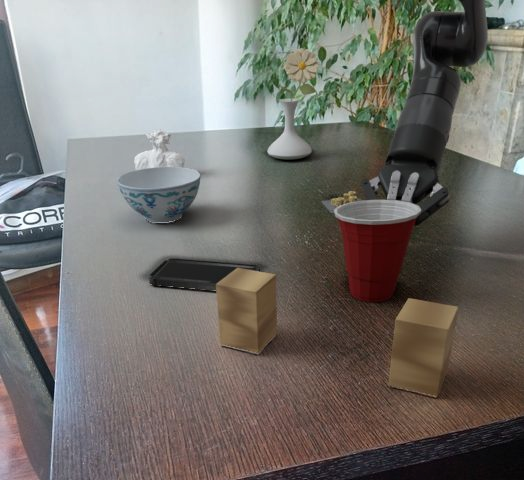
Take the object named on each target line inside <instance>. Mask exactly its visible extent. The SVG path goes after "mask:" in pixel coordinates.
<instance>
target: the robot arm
mask: <svg viewBox="0 0 524 480" xmlns="http://www.w3.org/2000/svg"><path fill="white" fill-rule="evenodd" d="M457 1H459V3H460V5H461V6H462V8H463V11H441V10H439V11H437V10H435V11H434V10H433V11H430V12H427V13H426V14H424V15H423V16H422V17H420V19H419V20H418V22H417V23H416V25H415V27H414V30H413V34H412V36H413V37H412V54H413V69H412V75H411V76H412V77H411V82H410V84H409V88H408V92H407V95H406V98H405V102H404V105H403V108H402V109H401V112H400V114H399V116H398V119H397V122H396V126H395V128H394V132H393V136H392V138H391V142H390V145H389V149H388V152H387V155H386V158H385V161H384V164H383V166H382V168H380V170H379V171H378V173H377V176H375V177H373V178H371V179H368V178H362V180H361V181H360V185H361V189H362V192H363V194H364V196H365V198H366V200H379V199H378V196H377V195H378V194H379V193H380V190H379V189H380V188H379V187H380V186H381V189H382V190H383V193H384V195H385V197H386V200H398V201H404V202H410V203H413V204H415V205H418V206H419V207H420V209H421V213H420V214H419V215H418V217H417V219H416V221H415V225H414V227H415V226H416V227H417V226H419V225H421V224H422V223H423V222H425V221H426V220H427V219H429V218H430V217H432V216H433V215H434V214H435V213H437V212H438V211H439V210H440V209H441V208H443V207H444V206H446V205H447V204H448V203H449V202H450V190H449V188H448V187H445V186H442V184H440V180H439V171H440V167H441V163H442V161H443V158H444V157H443V156H444V153H445V150H446V147H447V144H448V142H449V138H450V132H451V130H452V129H451V128H452V124H453V123H452V122H453V115H454V113H455V107H456V105H457V102H458V98H459V95H460V90H461V86H462V79H461V76H460V74H459V72H458V71H457V70H456V69H455V67H456V68H457V67H458V68H470V67H472V66H475V65H476V64H477V63H478V62H479V61H480V59H481V58H482V57H483V56H484V53H485V52H486V49H487V46H488V37H489V34H488V33H489V32H488V31H489V30H488V21H487V20H488V19H487V11H486V0H457ZM453 67H454V68H453ZM428 195H429V197H428ZM426 197H428V198H427V199H425V198H426ZM424 199H425V200H424ZM423 200H424V201H423ZM422 201H423V202H422ZM420 202H421V203H420ZM419 203H420V204H419Z"/></svg>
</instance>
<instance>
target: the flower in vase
mask: <svg viewBox="0 0 524 480" xmlns="http://www.w3.org/2000/svg"><path fill="white" fill-rule="evenodd" d="M293 51H294V52H291V53H288V56H287V58H286V61H285V64H284V71H286V74H287V75H288V80H289V79H290V80H292V81H294V82H296V83H297V82H298V86H297V89H296V90H295V91H294V92H293V91H291V89H288V88H286V87H285V86H282V85H281V84H280V83H279V84H278V86H279V87H280V89H282V90H283V91H284V92H287V93H289V94H292V97H291V98H281V99H279V100H278V101H279V103H280V105H281V106H282V109H283V113H284V130H283V132H282V133H281V135H280V136H279V137H278V138H277V139H275V141H273V142H272V143H271V144H270V145H269V147H268V148H267V151H266V152H267V154H268V156H270V157H271V158H272V157H273V158H274V159H279V160H298V159H304V158H306V157H308V156H310V155H311V154H312V148H311V146H310V144H309V143H307V142H306V140H304V139H303V138H302V137H301V136H299V134H297V132H296V129H295V113H296V108H297V106H298V104H299V102H300V99H299V98H295V96H296V94H297V93H298V91H300V92H301V94H303V95H305V96H307V95H311V94H315V93H316V92H317V90H316V88H315V87H314V86H313V85H312V84H309V83H307V82H308V81H312V80H313V79H316V77H317V73H318V72H319V68H320V62H319V61H318V57H316V53H314V52H313V51H310V50H309V49H308V48H306V49H304V48H302V47H300V48H299V49H295V50H293Z"/></svg>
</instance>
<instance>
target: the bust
mask: <svg viewBox="0 0 524 480" xmlns="http://www.w3.org/2000/svg"><path fill="white" fill-rule="evenodd" d="M145 136H146V137H147V140H149V143H150V144H151V145H152V149H150V150H149V149H148V150H145V151H142V152H140V153H137V154H136V155H135V156H134V160H133V161H134V164H133V165H134V170H135V171H136V170H141V169H147V168H155V167H182V168H184V165H185V160H186V159H185V157H184V156H183V155H182V154H181V153H178V152H177V151H175V150H169V148H168V147H167V145H170V139H171V138H172V134H171V133H169V132H166V131H165V130H162V129H158V130H155V129H154V131H153V132H151V133H146V134H145Z"/></svg>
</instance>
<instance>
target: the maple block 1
mask: <svg viewBox="0 0 524 480" xmlns="http://www.w3.org/2000/svg"><path fill="white" fill-rule="evenodd" d="M215 293H216V304H217V306H216V307H217V318H218V331H219V344H223V345H227V346H231V347H235V348H239V349H244V350H248V351H252V352H256V353H259V352H260V351H261V350H262V349H263V348H264V347H265V345H266V344H267V343H268V342H269V341H270V340H271V339H272V338H273V337H274V336H275V335H276V334H277V335H278V313H277V312H278V311H277V309H278V308H277V307H278V305H277V302H278V301H277V274H275V273H270V272H264V271H260V272H259V271H253V270H248V269H242V268H236V269H235V270H234V271H233V272H231V273H230V274H229V275H227V276H226V277H225V278H223V279H222V280H221V281H219V282H218V283H217V284H216V292H215Z"/></svg>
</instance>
